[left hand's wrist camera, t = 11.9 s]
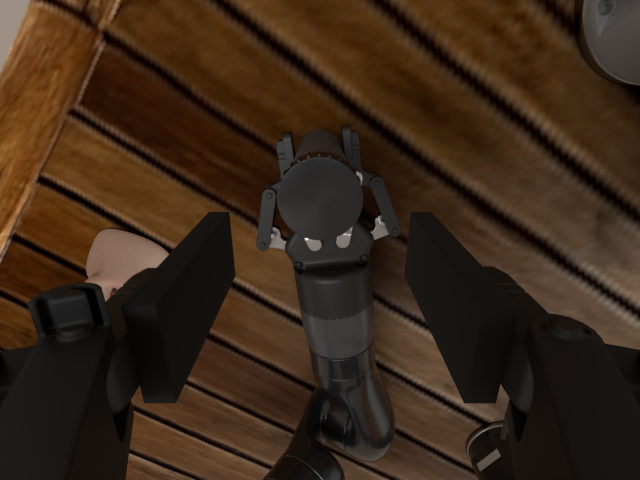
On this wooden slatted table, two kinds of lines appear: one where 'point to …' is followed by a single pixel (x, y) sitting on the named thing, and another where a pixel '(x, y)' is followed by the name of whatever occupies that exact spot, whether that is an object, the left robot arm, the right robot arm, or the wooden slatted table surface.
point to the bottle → (319, 144)
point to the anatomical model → (120, 258)
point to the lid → (320, 196)
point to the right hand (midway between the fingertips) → (315, 129)
